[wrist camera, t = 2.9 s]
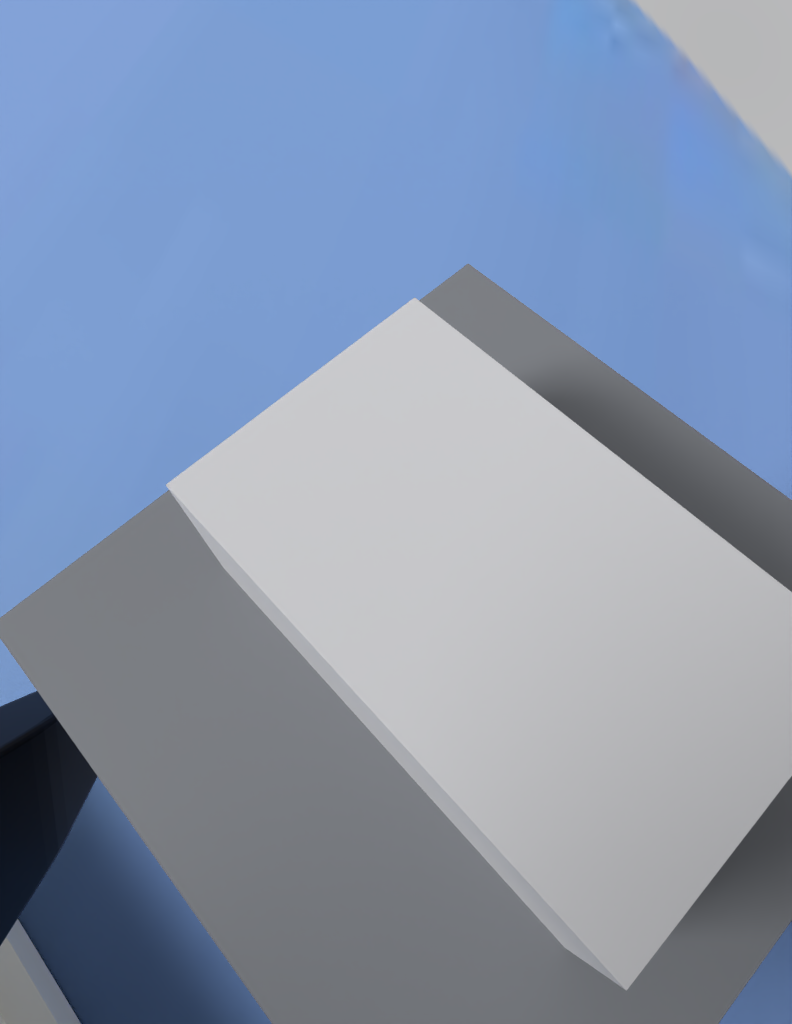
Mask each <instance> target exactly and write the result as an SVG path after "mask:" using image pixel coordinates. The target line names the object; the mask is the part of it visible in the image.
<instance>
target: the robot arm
mask: <svg viewBox="0 0 792 1024" xmlns="http://www.w3.org/2000/svg"><path fill="white" fill-rule="evenodd" d="M96 778H97V775H96V773H95V772H94V770H93V769H92V768H91V766H90V765H89V763H88V762H87V760H86V759H85V758H84V756H83V755H82V753H81V752H80V751H79V749H78V748H77V746H76V745H75V743H74V742H73V741H72V739H71V738H70V736H69V735H68V734H67V732H66V731H65V729H64V728H63V726H62V725H61V724H60V722H59V721H58V719H57V718H56V717H55V715H54V714H53V712H52V711H51V709H50V708H49V707H48V705H47V704H46V702H45V701H44V699H43V698H42V697H41V695H40V694H39V692H38V691H36V692H34V693H31V694H29V695H27V696H24V697H22V698H19V699H17V700H15V701H12V702H10V703H8V704H5V705H3V706H1V707H0V946H1V944H2V943H3V941H4V940H5V938H6V936H7V935H8V933H9V932H10V930H11V929H12V927H13V925H14V924H15V922H16V921H17V919H18V917H19V916H20V914H21V913H22V911H23V910H24V908H25V906H26V905H27V903H28V902H29V900H30V898H31V897H32V895H33V894H34V892H35V891H36V889H37V887H38V886H39V884H40V883H41V881H42V879H43V878H44V876H45V875H46V873H47V871H48V870H49V868H50V867H51V865H52V863H53V862H54V860H55V858H56V857H57V855H58V853H59V851H60V850H61V848H62V846H63V844H64V842H65V840H66V838H67V836H68V835H69V833H70V831H71V829H72V827H73V825H74V823H75V821H76V819H77V817H78V815H79V812H80V810H81V808H82V806H83V804H84V802H85V800H86V798H87V796H88V794H89V792H90V790H91V788H92V786H93V784H94V782H95V780H96Z"/></svg>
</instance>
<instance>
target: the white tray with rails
mask: <svg viewBox="0 0 792 1024" xmlns="http://www.w3.org/2000/svg"><path fill="white" fill-rule="evenodd" d="M0 1024H81V1023H80V1021H79V1019H78V1018H77V1016H76V1015H75V1013H74V1011H73V1010H72V1008H71V1006H70V1005H69V1003H68V1001H67V1000H66V998H65V996H64V995H63V993H62V991H61V990H60V988H59V986H58V985H57V983H56V981H55V980H54V978H53V976H52V975H51V973H50V971H49V970H48V968H47V966H46V965H45V963H44V961H43V960H42V958H41V956H40V955H39V953H38V951H37V950H36V948H35V946H34V945H33V943H32V942H31V940H30V938H29V937H28V935H27V933H26V932H25V930H24V928H23V927H22V925H21V923H20V922H19V920H18V919H17V921H16V922H15V924H14V925H13V927H12V929H11V930H10V932H9V933H8V935H7V936H6V938H5V940H4V941H3V943H2V944H1V946H0Z"/></svg>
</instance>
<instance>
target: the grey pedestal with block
mask: <svg viewBox="0 0 792 1024" xmlns="http://www.w3.org/2000/svg"><path fill="white" fill-rule="evenodd" d="M166 486H167V487H168V489H169V490H168V491H167V492H166V493H164V494H163V495H162V496H160V497H159V498H158V499H157V500H155V501H154V502H153V503H151V504H150V505H149V506H147V507H146V508H145V509H143V510H142V511H141V512H139V513H138V514H137V515H135V516H134V517H133V518H131V519H130V520H129V521H127V522H126V523H125V524H123V525H122V526H121V527H120V528H118V529H117V530H116V531H114V532H113V533H112V534H110V535H109V536H108V537H106V538H105V539H104V540H102V541H101V542H100V543H98V544H97V545H96V546H94V547H93V548H92V549H90V550H89V551H88V552H87V553H85V554H84V555H83V556H81V557H80V558H79V559H77V560H76V561H75V562H73V563H72V564H71V565H69V566H68V567H67V568H65V569H64V570H63V571H61V572H60V573H59V574H57V575H56V576H55V577H53V578H52V579H51V580H50V581H48V582H47V583H46V584H44V585H43V586H42V587H40V588H39V589H38V590H36V591H35V592H34V593H32V594H31V595H30V596H28V597H27V598H26V599H24V600H23V601H22V602H20V603H19V604H18V605H16V606H15V607H14V608H13V609H11V610H10V611H9V612H7V613H6V614H5V615H3V616H2V617H1V618H0V639H1V640H2V641H3V643H4V644H5V646H6V647H7V648H8V650H9V651H10V653H11V654H12V656H13V657H14V658H15V660H16V661H17V663H18V664H19V665H20V667H21V668H22V670H23V671H24V673H25V674H26V675H27V677H28V678H29V680H30V681H31V682H32V684H33V685H34V687H35V688H36V690H37V691H38V692H39V694H40V695H41V697H42V698H43V699H44V701H45V702H46V704H47V705H48V707H49V708H50V709H51V711H52V712H53V714H54V715H55V717H56V718H57V719H58V721H59V722H60V724H61V725H62V726H63V728H64V729H65V731H66V732H67V734H68V735H69V736H70V738H71V739H72V741H73V742H74V743H75V745H76V746H77V748H78V749H79V751H80V752H81V753H82V755H83V756H84V758H85V759H86V760H87V762H88V763H89V765H90V766H91V768H92V769H93V770H94V772H95V773H96V775H97V776H98V777H99V779H100V780H101V782H102V783H103V785H104V786H105V787H106V789H107V790H108V792H109V793H110V795H111V796H112V797H113V799H114V800H115V802H116V803H117V804H118V806H119V807H120V809H121V810H122V812H123V813H124V814H125V816H126V817H127V819H128V820H129V821H130V823H131V824H132V826H133V827H134V829H135V830H136V831H137V833H138V834H139V836H140V837H141V838H142V840H143V841H144V843H145V844H146V846H147V847H148V848H149V850H150V851H151V853H152V854H153V855H154V857H155V858H156V860H157V861H158V863H159V864H160V865H161V867H162V868H163V870H164V871H165V873H166V874H167V875H168V877H169V878H170V880H171V881H172V882H173V884H174V885H175V887H176V888H177V890H178V891H179V892H180V894H181V895H182V897H183V898H184V899H185V901H186V902H187V904H188V905H189V907H190V908H191V909H192V911H193V912H194V914H195V915H196V916H197V918H198V919H199V921H200V922H201V924H202V925H203V926H204V928H205V929H206V931H207V932H208V933H209V935H210V936H211V938H212V939H213V941H214V942H215V943H216V945H217V946H218V948H219V949H220V951H221V952H222V953H223V955H224V956H225V958H226V959H227V960H228V962H229V963H230V965H231V966H232V968H233V969H234V970H235V972H236V973H237V975H238V976H239V977H240V979H241V980H242V982H243V983H244V985H245V986H246V987H247V989H248V990H249V992H250V993H251V994H252V996H253V997H254V999H255V1000H256V1002H257V1003H258V1004H259V1006H260V1007H261V1009H262V1010H263V1011H264V1013H265V1014H266V1016H267V1017H268V1019H269V1020H270V1021H271V1023H272V1024H718V1023H719V1022H720V1020H721V1019H722V1018H723V1016H724V1015H725V1013H726V1012H727V1011H728V1009H729V1008H730V1006H731V1005H732V1004H733V1002H734V1001H735V999H736V998H737V997H738V995H739V994H740V992H741V991H742V990H743V988H744V987H745V985H746V984H747V983H748V981H749V980H750V978H751V977H752V976H753V974H754V973H755V971H756V970H757V969H758V967H759V966H760V964H761V963H762V961H763V960H764V959H765V957H766V956H767V954H768V953H769V952H770V950H771V949H772V947H773V946H774V945H775V943H776V942H777V940H778V939H779V938H780V936H781V935H782V933H783V932H784V931H785V929H786V928H787V926H788V925H789V924H790V922H791V921H792V500H791V499H789V498H788V497H786V496H785V495H784V494H782V493H781V492H780V491H778V490H777V489H776V488H774V487H773V486H771V485H770V484H769V483H767V482H766V481H765V480H763V479H762V478H760V477H759V476H758V475H756V474H755V473H754V472H752V471H751V470H750V469H748V468H747V467H745V466H744V465H743V464H741V463H740V462H739V461H737V460H736V459H735V458H733V457H732V456H730V455H729V454H728V453H726V452H725V451H724V450H722V449H721V448H719V447H718V446H717V445H715V444H714V443H713V442H711V441H710V440H709V439H707V438H706V437H704V436H703V435H702V434H700V433H699V432H698V431H696V430H695V429H694V428H692V427H691V426H689V425H688V424H687V423H685V422H684V421H683V420H681V419H680V418H678V417H677V416H676V415H674V414H673V413H672V412H670V411H669V410H668V409H666V408H665V407H663V406H662V405H661V404H659V403H658V402H657V401H655V400H654V399H653V398H651V397H650V396H648V395H647V394H646V393H644V392H643V391H642V390H640V389H639V388H638V387H636V386H635V385H633V384H632V383H631V382H629V381H628V380H627V379H625V378H624V377H622V376H621V375H620V374H618V373H617V372H616V371H614V370H613V369H612V368H610V367H609V366H607V365H606V364H605V363H603V362H602V361H601V360H599V359H598V358H597V357H595V356H594V355H592V354H591V353H590V352H588V351H587V350H586V349H584V348H583V347H581V346H580V345H579V344H577V343H576V342H575V341H573V340H572V339H571V338H569V337H568V336H566V335H565V334H564V333H562V332H561V331H560V330H558V329H557V328H556V327H554V326H553V325H551V324H550V323H549V322H547V321H546V320H545V319H543V318H542V317H540V316H539V315H538V314H536V313H535V312H534V311H532V310H531V309H530V308H528V307H527V306H525V305H524V304H523V303H521V302H520V301H519V300H517V299H516V298H515V297H513V296H512V295H510V294H509V293H508V292H506V291H505V290H504V289H502V288H501V287H499V286H498V285H497V284H495V283H494V282H493V281H491V280H490V279H489V278H487V277H486V276H484V275H483V274H482V273H480V272H479V271H478V270H476V269H475V268H474V267H472V266H471V265H469V264H467V265H466V266H464V267H463V268H462V269H460V270H459V271H458V272H456V273H455V274H454V275H452V276H451V277H450V278H448V279H447V280H446V281H444V282H443V283H442V284H441V285H439V286H438V287H437V288H435V289H434V290H433V291H431V292H430V293H429V294H427V295H426V296H425V297H423V298H422V299H421V300H417V299H416V298H413V299H412V300H411V301H409V302H408V303H407V304H405V305H404V306H403V307H401V308H400V309H399V310H397V311H396V312H395V313H393V314H392V315H391V316H389V317H388V318H387V319H385V320H384V321H383V322H381V323H380V324H379V325H377V326H376V327H375V328H373V329H372V330H371V331H369V332H368V333H367V334H365V335H364V336H363V337H361V338H360V339H359V340H357V341H356V342H355V343H353V344H352V345H351V346H350V347H348V348H347V349H346V350H344V351H343V352H342V353H340V354H339V355H338V356H336V357H335V358H334V359H332V360H331V361H330V362H328V363H327V364H326V365H324V366H323V367H322V368H320V369H319V370H318V371H316V372H315V373H314V374H312V375H311V376H310V377H308V378H307V379H306V380H304V381H303V382H302V383H300V384H299V385H298V386H296V387H295V388H294V389H292V390H291V391H290V392H288V393H287V394H286V395H284V396H283V397H282V398H280V399H279V400H278V401H276V402H275V403H274V404H273V405H271V406H270V407H269V408H267V409H266V410H265V411H263V412H262V413H261V414H259V415H258V416H257V417H255V418H254V419H253V420H251V421H250V422H249V423H247V424H246V425H245V426H243V427H242V428H241V429H239V430H238V431H237V432H235V433H234V434H233V435H231V436H230V437H229V438H227V439H226V440H225V441H223V442H222V443H221V444H219V445H218V446H217V447H215V448H214V449H213V450H211V451H210V452H209V453H207V454H206V455H205V456H203V457H202V458H201V459H199V460H198V461H197V462H196V463H194V464H193V465H192V466H190V467H189V468H188V469H186V470H185V471H184V472H182V473H181V474H180V475H178V476H177V477H176V478H174V479H173V480H172V481H170V482H169V483H168V484H166Z"/></svg>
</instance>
